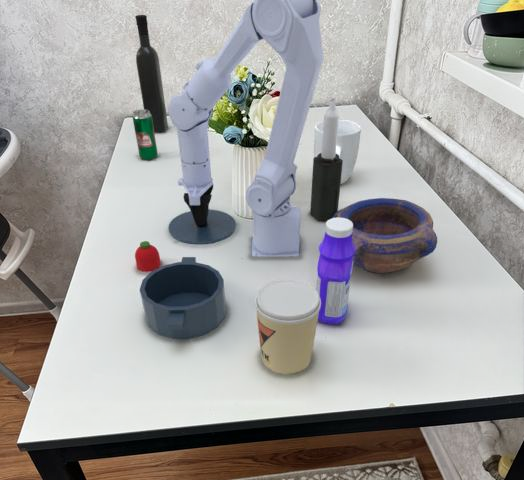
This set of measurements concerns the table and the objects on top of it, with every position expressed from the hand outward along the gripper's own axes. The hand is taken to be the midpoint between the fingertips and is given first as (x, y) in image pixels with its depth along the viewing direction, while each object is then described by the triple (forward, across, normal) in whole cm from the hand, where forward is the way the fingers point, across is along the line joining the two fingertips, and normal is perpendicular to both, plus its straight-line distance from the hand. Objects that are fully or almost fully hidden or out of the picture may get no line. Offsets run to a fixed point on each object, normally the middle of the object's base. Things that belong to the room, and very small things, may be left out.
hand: (201, 221), depth 106 cm
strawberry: (+2, +15, -9) cm, 18 cm away
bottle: (+2, +30, +25) cm, 39 cm away
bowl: (+2, +13, +36) cm, 38 cm away
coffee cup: (+2, +41, +17) cm, 44 cm away
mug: (+2, -24, +31) cm, 39 cm away
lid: (+1, 0, 0) cm, 1 cm away
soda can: (+2, -41, -19) cm, 45 cm away
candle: (+2, -6, +27) cm, 28 cm away
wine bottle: (+2, -63, -20) cm, 66 cm away
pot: (+2, +30, 0) cm, 30 cm away
